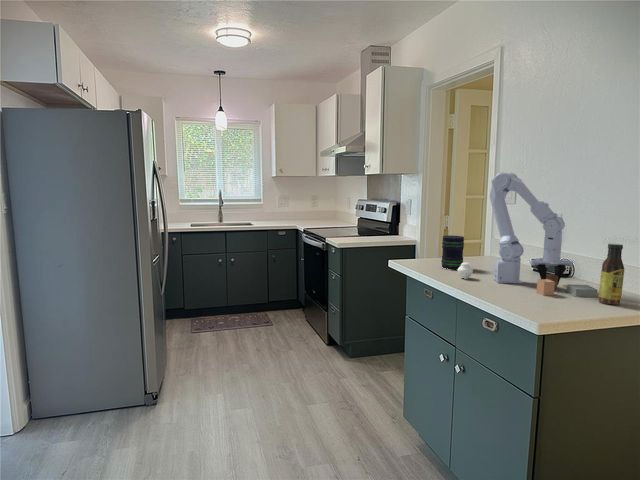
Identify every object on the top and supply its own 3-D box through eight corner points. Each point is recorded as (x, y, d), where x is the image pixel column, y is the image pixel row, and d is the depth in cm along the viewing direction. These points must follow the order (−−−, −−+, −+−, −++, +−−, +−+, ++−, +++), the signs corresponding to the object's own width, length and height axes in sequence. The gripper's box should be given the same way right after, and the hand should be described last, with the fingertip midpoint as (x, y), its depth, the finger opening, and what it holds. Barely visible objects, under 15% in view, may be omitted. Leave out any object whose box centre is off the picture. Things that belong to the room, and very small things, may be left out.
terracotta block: (543, 295, 150) (544, 282, 149) (536, 292, 154) (537, 279, 153) (553, 295, 150) (554, 281, 149) (546, 292, 154) (547, 279, 153)
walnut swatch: (568, 288, 159) (568, 287, 159) (562, 285, 164) (562, 284, 164) (582, 289, 159) (582, 288, 159) (576, 286, 163) (576, 285, 163)
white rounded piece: (467, 280, 173) (468, 263, 172) (454, 278, 177) (455, 261, 176) (475, 278, 177) (476, 262, 176) (462, 276, 181) (462, 260, 180)
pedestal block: (575, 297, 149) (576, 289, 148) (566, 292, 156) (567, 284, 155) (596, 297, 148) (597, 289, 148) (587, 292, 155) (587, 284, 154)
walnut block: (545, 288, 159) (546, 275, 159) (541, 286, 163) (542, 273, 162) (557, 289, 159) (558, 276, 158) (552, 286, 162) (553, 274, 162)
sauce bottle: (613, 306, 136) (619, 245, 134) (593, 301, 142) (599, 243, 139) (625, 304, 139) (631, 244, 137) (605, 299, 145) (610, 242, 142)
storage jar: (465, 270, 194) (467, 238, 192) (444, 270, 194) (445, 238, 192) (459, 266, 204) (460, 235, 202) (438, 266, 204) (439, 235, 202)
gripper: (535, 250, 156) (532, 285, 158) (577, 251, 154) (574, 287, 156) (529, 247, 163) (526, 281, 165) (569, 248, 161) (566, 283, 163)
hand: (549, 284), depth 161 cm, fingers closed on walnut block, 4 cm apart
